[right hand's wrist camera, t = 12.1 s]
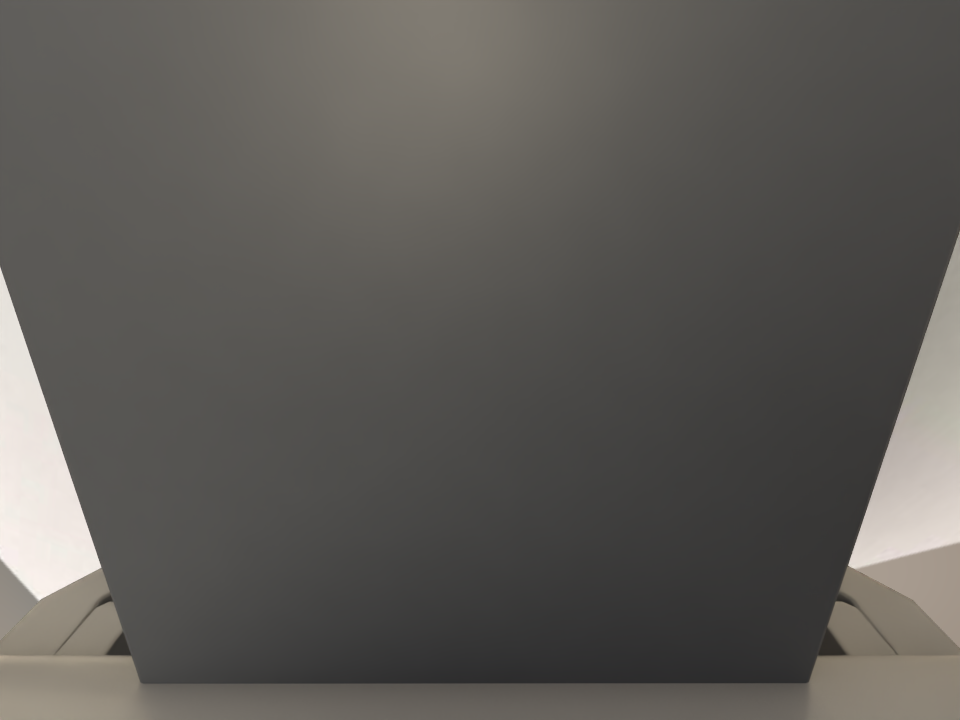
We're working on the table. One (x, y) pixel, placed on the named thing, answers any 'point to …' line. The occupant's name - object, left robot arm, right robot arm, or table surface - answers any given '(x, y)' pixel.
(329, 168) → the box
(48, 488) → the table surface
